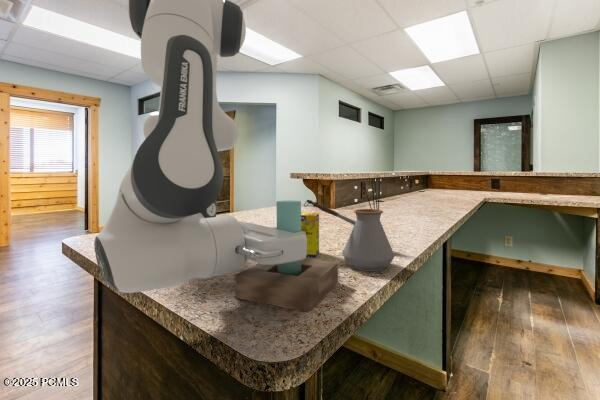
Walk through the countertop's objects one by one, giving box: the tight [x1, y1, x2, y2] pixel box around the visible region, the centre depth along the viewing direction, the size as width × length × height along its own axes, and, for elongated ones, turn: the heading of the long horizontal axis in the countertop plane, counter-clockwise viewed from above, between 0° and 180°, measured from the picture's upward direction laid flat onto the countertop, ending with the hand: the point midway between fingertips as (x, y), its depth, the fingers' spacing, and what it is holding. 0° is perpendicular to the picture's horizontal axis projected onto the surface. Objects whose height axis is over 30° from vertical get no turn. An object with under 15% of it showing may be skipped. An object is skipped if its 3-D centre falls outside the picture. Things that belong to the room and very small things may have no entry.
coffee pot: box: [303, 199, 395, 272], centre depth 72 cm, size 21×12×15 cm, turn 66°
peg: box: [275, 200, 302, 276], centre depth 55 cm, size 4×4×13 cm
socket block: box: [234, 258, 339, 313], centre depth 56 cm, size 14×14×4 cm
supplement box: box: [301, 211, 320, 259], centre depth 81 cm, size 6×6×11 cm
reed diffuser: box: [361, 177, 381, 210], centre depth 85 cm, size 10×7×20 cm
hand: (293, 233), depth 56 cm, fingers closed on peg, 4 cm apart
